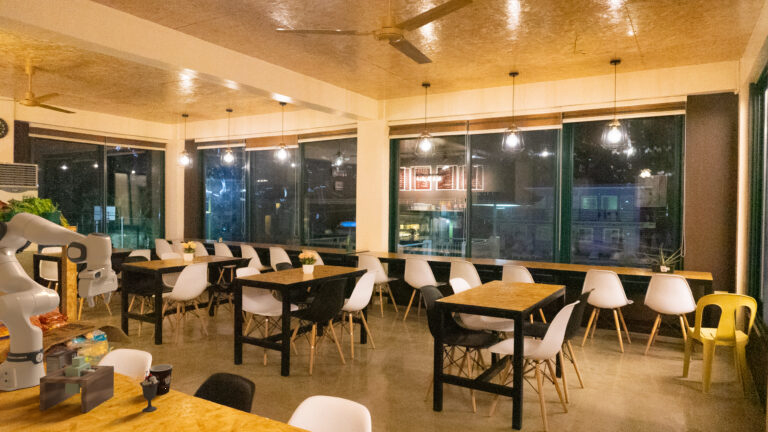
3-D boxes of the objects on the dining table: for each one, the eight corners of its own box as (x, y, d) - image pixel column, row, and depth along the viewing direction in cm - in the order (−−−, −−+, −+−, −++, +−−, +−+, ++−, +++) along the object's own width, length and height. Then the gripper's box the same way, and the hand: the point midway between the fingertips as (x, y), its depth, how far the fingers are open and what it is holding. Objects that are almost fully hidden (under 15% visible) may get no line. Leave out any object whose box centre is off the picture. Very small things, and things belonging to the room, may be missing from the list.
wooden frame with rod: (39, 410, 180) (39, 375, 180) (70, 394, 196) (70, 362, 196) (86, 412, 179) (86, 377, 178) (113, 396, 195) (113, 363, 194)
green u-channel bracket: (65, 393, 184) (65, 360, 184) (78, 386, 191) (78, 354, 191) (78, 393, 183) (78, 360, 183) (90, 387, 190) (90, 355, 190)
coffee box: (65, 387, 203) (65, 348, 203) (78, 388, 202) (78, 350, 202) (45, 395, 194) (45, 355, 194) (59, 397, 193) (59, 356, 193)
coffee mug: (167, 386, 206) (167, 362, 205) (175, 392, 199) (175, 367, 199) (137, 393, 197) (138, 369, 197) (145, 399, 191) (145, 374, 191)
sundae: (139, 414, 178) (140, 373, 177) (139, 407, 184) (139, 368, 183) (159, 411, 181) (160, 370, 180) (158, 404, 187) (159, 365, 186)
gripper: (107, 268, 215) (107, 300, 216) (75, 274, 195) (75, 309, 195) (121, 268, 215) (121, 300, 215) (90, 274, 195) (90, 309, 195)
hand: (99, 304), depth 205 cm, fingers open, 8 cm apart
